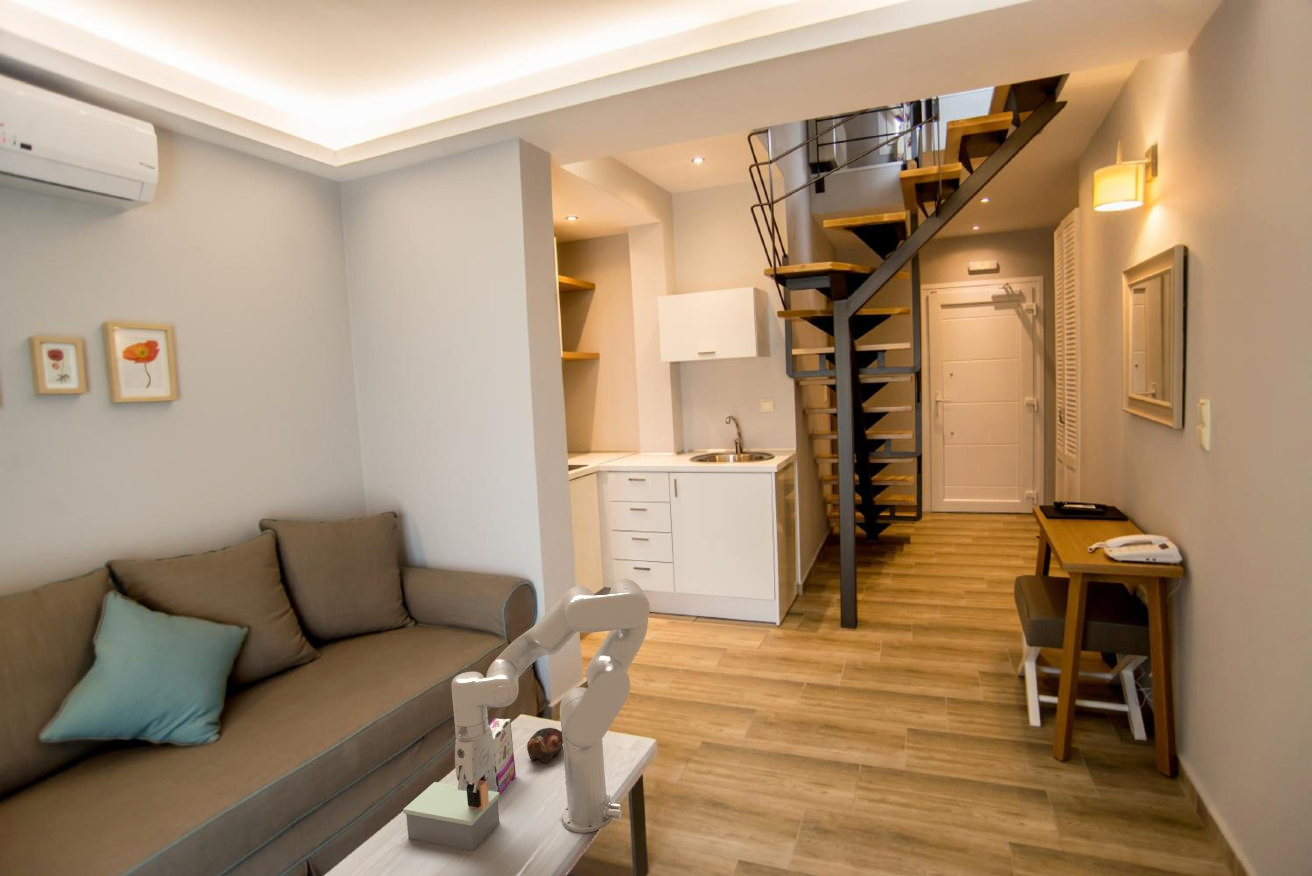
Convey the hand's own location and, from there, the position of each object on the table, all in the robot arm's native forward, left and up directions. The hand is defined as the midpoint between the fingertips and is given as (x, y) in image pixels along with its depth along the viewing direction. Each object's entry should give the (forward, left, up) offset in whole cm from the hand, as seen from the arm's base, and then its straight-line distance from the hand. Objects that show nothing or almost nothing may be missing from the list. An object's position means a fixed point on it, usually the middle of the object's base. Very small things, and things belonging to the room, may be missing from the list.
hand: (478, 801), depth 162 cm
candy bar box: (+7, -20, -9) cm, 23 cm away
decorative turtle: (+2, -36, -9) cm, 38 cm away
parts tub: (+7, 0, -9) cm, 12 cm away
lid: (+8, 0, -2) cm, 8 cm away
